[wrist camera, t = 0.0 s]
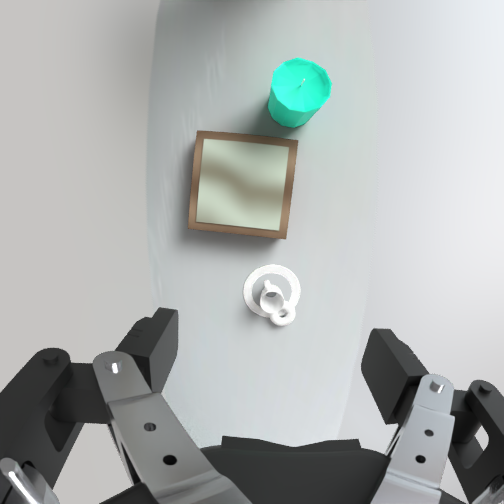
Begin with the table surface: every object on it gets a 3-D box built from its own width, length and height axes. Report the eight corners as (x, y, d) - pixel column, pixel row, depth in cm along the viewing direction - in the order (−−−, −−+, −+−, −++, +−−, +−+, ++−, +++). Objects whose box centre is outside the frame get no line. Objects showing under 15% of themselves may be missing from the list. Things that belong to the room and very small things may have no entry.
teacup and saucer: (296, 321, 44) (300, 335, 40) (242, 320, 44) (241, 333, 40) (301, 264, 42) (306, 274, 38) (243, 262, 42) (242, 272, 38)
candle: (322, 112, 36) (347, 89, 25) (285, 136, 37) (297, 120, 26) (295, 77, 35) (309, 42, 24) (258, 100, 36) (258, 71, 25)
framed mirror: (202, 134, 37) (196, 130, 34) (294, 143, 38) (298, 140, 34) (193, 224, 40) (187, 229, 37) (283, 233, 41) (286, 239, 37)
